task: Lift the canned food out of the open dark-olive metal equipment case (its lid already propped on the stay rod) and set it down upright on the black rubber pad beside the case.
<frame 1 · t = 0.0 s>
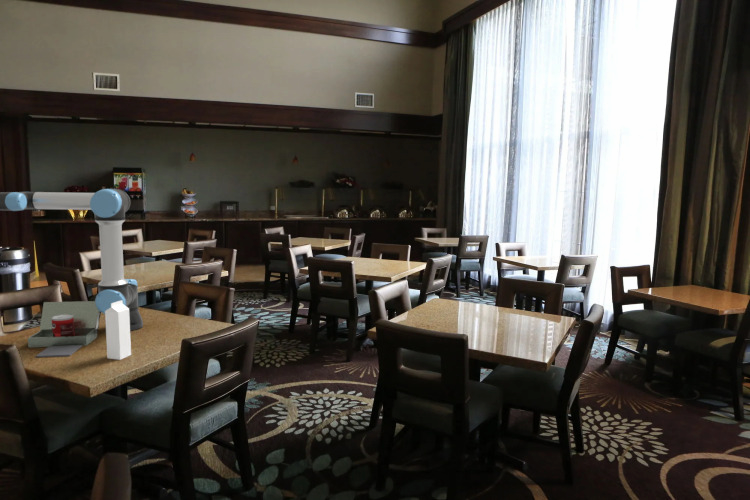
case: (64, 342, 213), on the table
pad: (59, 351, 201), on the table
canned food: (64, 342, 213), resting in case
milk: (119, 357, 197), on the table
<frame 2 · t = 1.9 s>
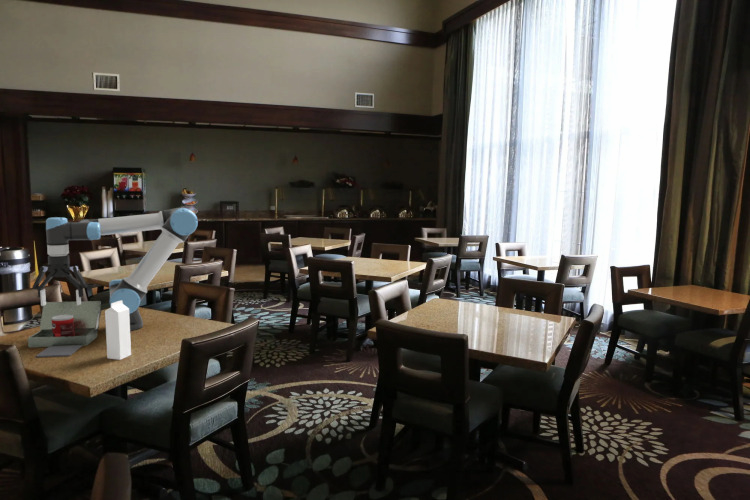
hand: (61, 305, 211), 16 cm above the table, fingers open, 13 cm apart
nothing on the table moved.
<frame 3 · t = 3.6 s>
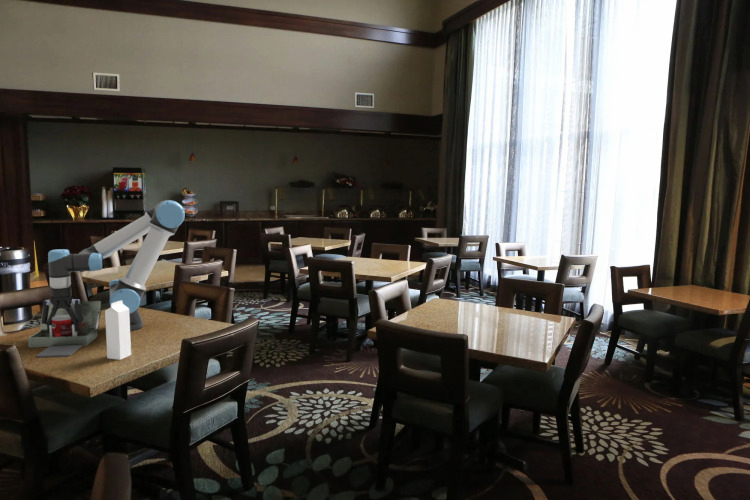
hand: (63, 339, 213), 1 cm above the table, fingers closed on canned food, 8 cm apart
canned food: (64, 342, 213), resting in case, touching gripper
everything else where it was.
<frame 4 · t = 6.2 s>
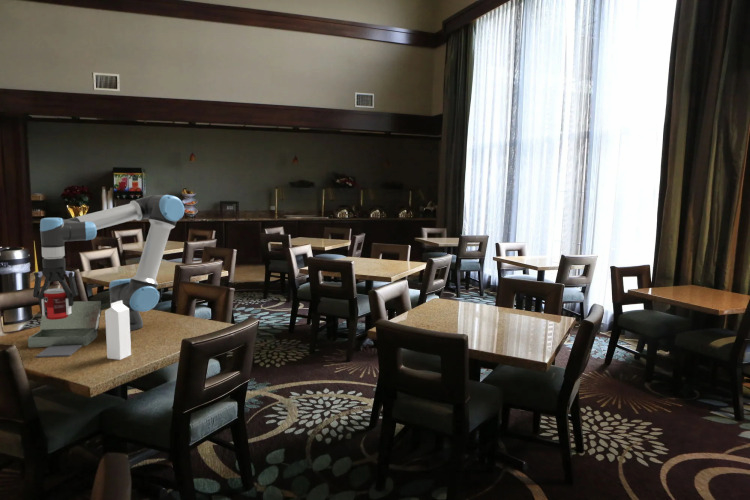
hand: (57, 314, 199), 15 cm above the table, fingers closed on canned food, 8 cm apart
canned food: (57, 317, 199), point 14 cm above the table, touching gripper
everything else where it was.
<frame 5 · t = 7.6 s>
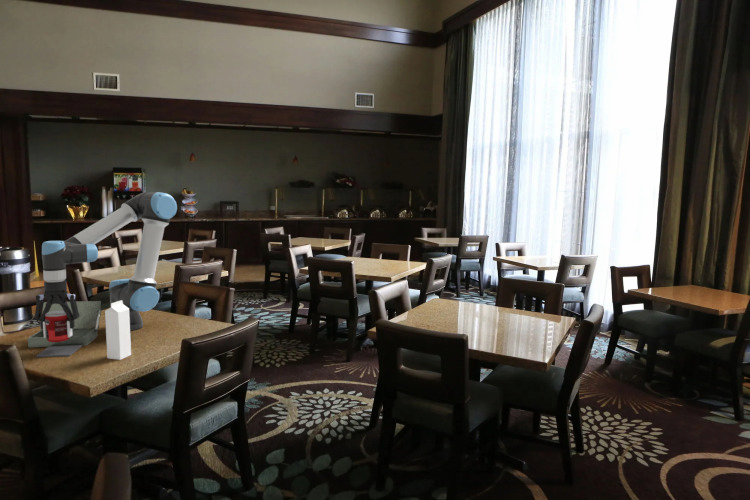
hand: (58, 336, 200), 6 cm above the table, fingers closed on canned food, 8 cm apart
canned food: (58, 340, 200), point 5 cm above the table, touching gripper
everything else where it was.
when the fingers open (4 cm above the table, at t = 8.6 s): canned food drops 2 cm, resting on pad.
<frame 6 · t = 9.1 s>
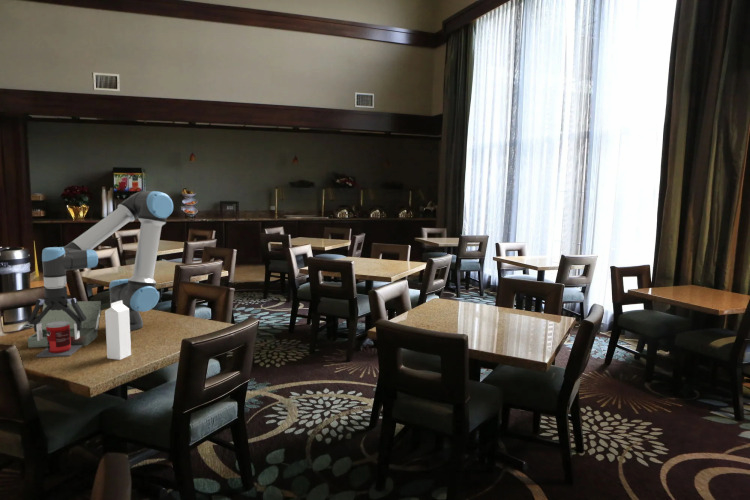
hand: (58, 339, 200), 5 cm above the table, fingers open, 13 cm apart
canned food: (59, 350, 201), resting on pad
everything else where it was.
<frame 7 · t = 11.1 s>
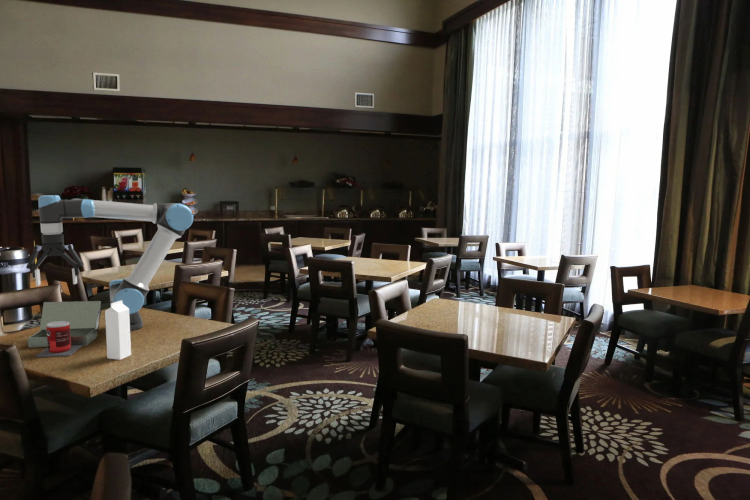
hand: (57, 284, 208), 25 cm above the table, fingers open, 13 cm apart
nothing on the table moved.
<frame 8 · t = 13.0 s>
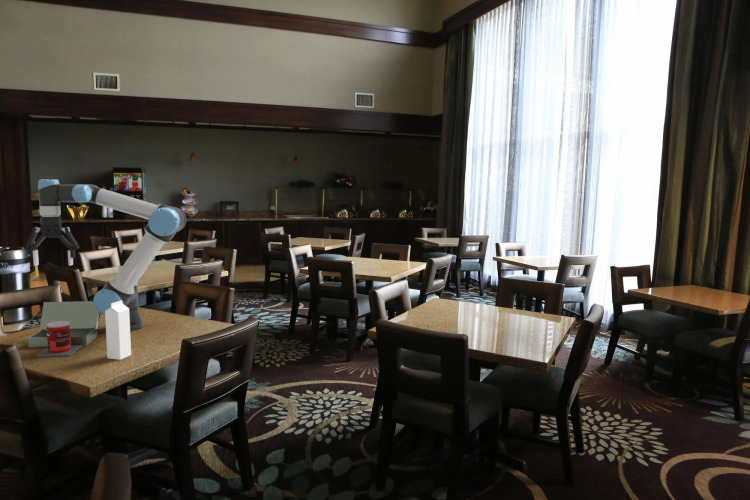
hand: (53, 265, 216), 32 cm above the table, fingers open, 13 cm apart
nothing on the table moved.
at the end: canned food inside the target area on the pad (0.0 cm from its centre), point 0.4 cm above the pad's base; canned food tilted 0°; the gripper is holding nothing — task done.
